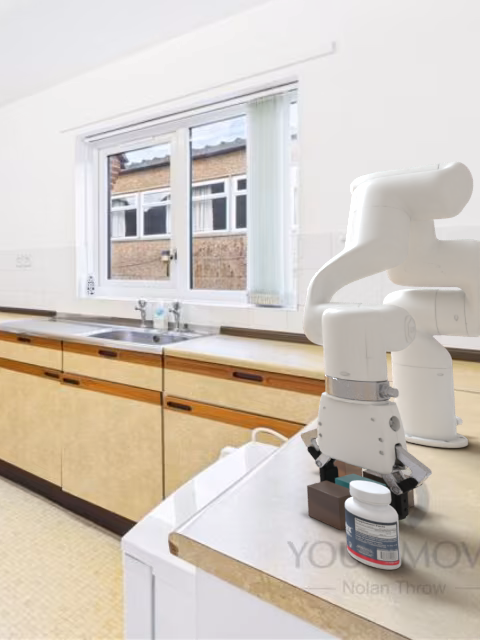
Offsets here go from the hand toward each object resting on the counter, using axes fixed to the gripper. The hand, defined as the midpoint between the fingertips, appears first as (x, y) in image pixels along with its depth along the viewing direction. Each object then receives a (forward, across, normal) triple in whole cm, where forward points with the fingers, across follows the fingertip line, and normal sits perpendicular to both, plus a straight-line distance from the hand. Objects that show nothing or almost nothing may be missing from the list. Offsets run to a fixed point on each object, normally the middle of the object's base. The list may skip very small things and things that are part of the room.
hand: (362, 504), depth 72 cm
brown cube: (+1, 0, +7) cm, 7 cm away
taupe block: (+1, 0, -6) cm, 6 cm away
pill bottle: (+1, -8, +12) cm, 15 cm away
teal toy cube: (+1, 0, 0) cm, 1 cm away
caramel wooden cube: (+1, +9, -10) cm, 13 cm away
